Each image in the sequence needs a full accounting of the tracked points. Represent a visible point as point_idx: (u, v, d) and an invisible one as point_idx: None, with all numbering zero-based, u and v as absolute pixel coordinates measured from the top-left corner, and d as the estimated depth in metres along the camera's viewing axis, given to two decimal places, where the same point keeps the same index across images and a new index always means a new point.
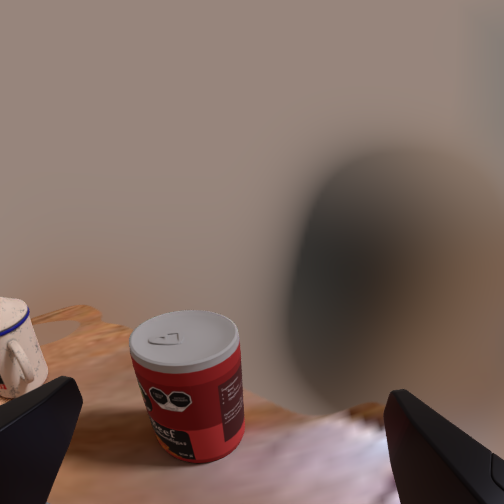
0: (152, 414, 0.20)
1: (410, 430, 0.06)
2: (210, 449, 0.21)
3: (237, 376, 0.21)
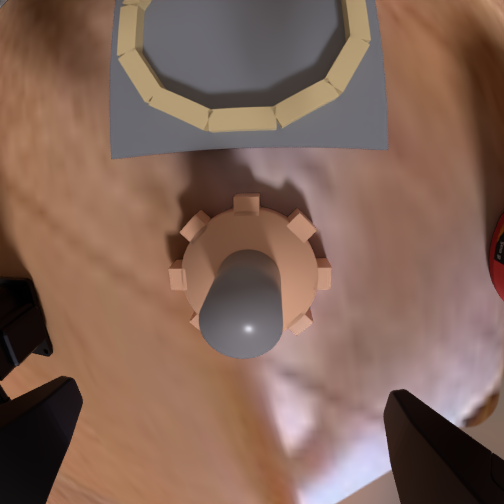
0: None
1: (410, 430, 0.06)
2: None
3: None
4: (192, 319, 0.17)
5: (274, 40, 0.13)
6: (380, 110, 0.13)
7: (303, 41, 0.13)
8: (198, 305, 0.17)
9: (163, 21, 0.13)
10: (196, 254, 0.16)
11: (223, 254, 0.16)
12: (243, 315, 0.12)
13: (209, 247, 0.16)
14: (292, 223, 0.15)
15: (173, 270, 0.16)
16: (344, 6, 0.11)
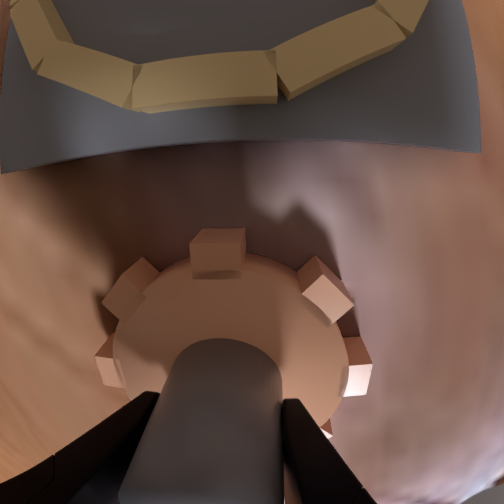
0: None
1: (284, 443, 0.06)
2: None
3: None
4: None
5: None
6: (467, 80, 0.06)
7: None
8: None
9: None
10: (132, 340, 0.08)
11: (178, 343, 0.08)
12: None
13: (153, 331, 0.08)
14: (307, 294, 0.08)
15: (102, 360, 0.09)
16: None
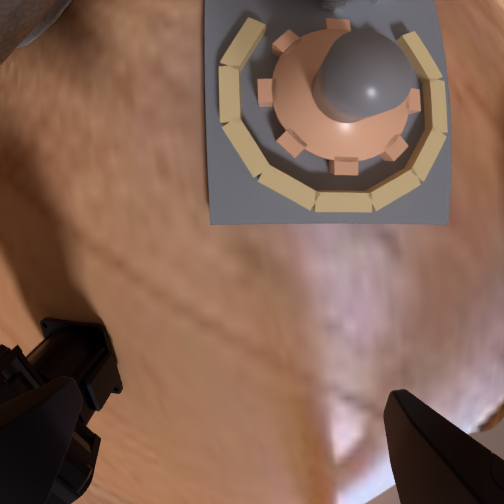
0: None
1: (410, 430, 0.06)
2: None
3: None
4: (280, 138, 0.14)
5: None
6: (445, 191, 0.16)
7: None
8: (288, 119, 0.14)
9: None
10: (289, 64, 0.13)
11: (318, 65, 0.13)
12: (374, 59, 0.09)
13: (304, 58, 0.13)
14: None
15: (262, 81, 0.14)
16: (427, 95, 0.14)
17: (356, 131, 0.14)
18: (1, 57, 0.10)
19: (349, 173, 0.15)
